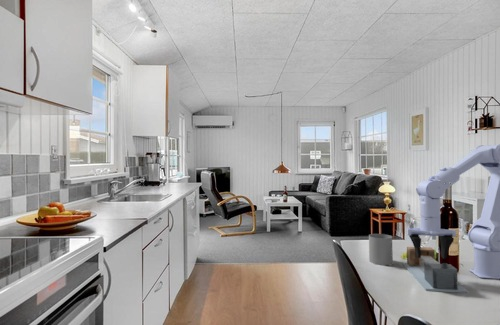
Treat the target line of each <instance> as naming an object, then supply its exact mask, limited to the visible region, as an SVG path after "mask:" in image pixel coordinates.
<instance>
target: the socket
mask: <svg viewBox="0 0 500 325" xmlns="http://www.w3.org/2000/svg"><path fill="white" fill-rule="evenodd" d="M420 250H421V255H425V256H431V257H432V258H433V259H435V260H436V257H435V255H436V254H435V249H434V248H433V247H427V246H422V247H421V246H420ZM406 263H407V264H408V265H409V266H415V264H418V265H419V258H418V257H417V256H416V251H415V247H414V246H406Z"/></svg>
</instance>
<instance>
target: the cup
mask: <svg viewBox="0 0 500 325" xmlns="http://www.w3.org/2000/svg"><path fill="white" fill-rule="evenodd" d="M393 254H394V253H393V236H392V235H389V234H385V233H371V234H368V260H369V263H371V264H373V265H378V266H390V265H392V264H393V263H394V262H393V261H394V260H393Z"/></svg>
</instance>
